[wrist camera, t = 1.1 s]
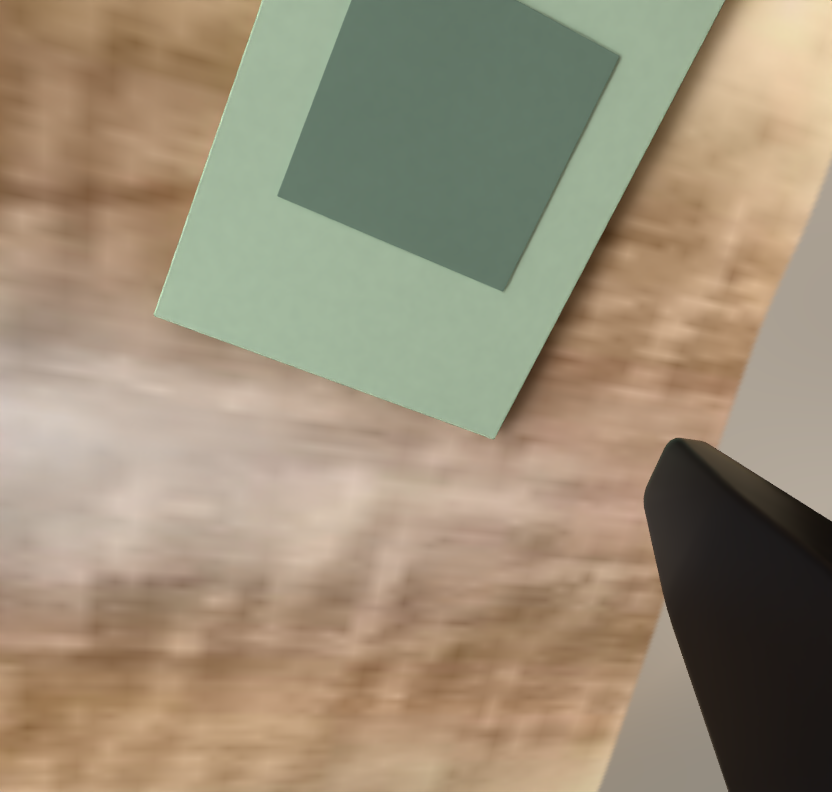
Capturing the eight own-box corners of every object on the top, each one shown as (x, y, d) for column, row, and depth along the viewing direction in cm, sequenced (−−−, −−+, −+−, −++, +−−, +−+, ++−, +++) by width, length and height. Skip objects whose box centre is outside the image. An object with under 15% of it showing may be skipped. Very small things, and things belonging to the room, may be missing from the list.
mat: (490, 432, 26) (495, 441, 25) (156, 309, 23) (152, 317, 22) (757, -79, 21) (772, -84, 20) (374, -321, 18) (376, -336, 17)
